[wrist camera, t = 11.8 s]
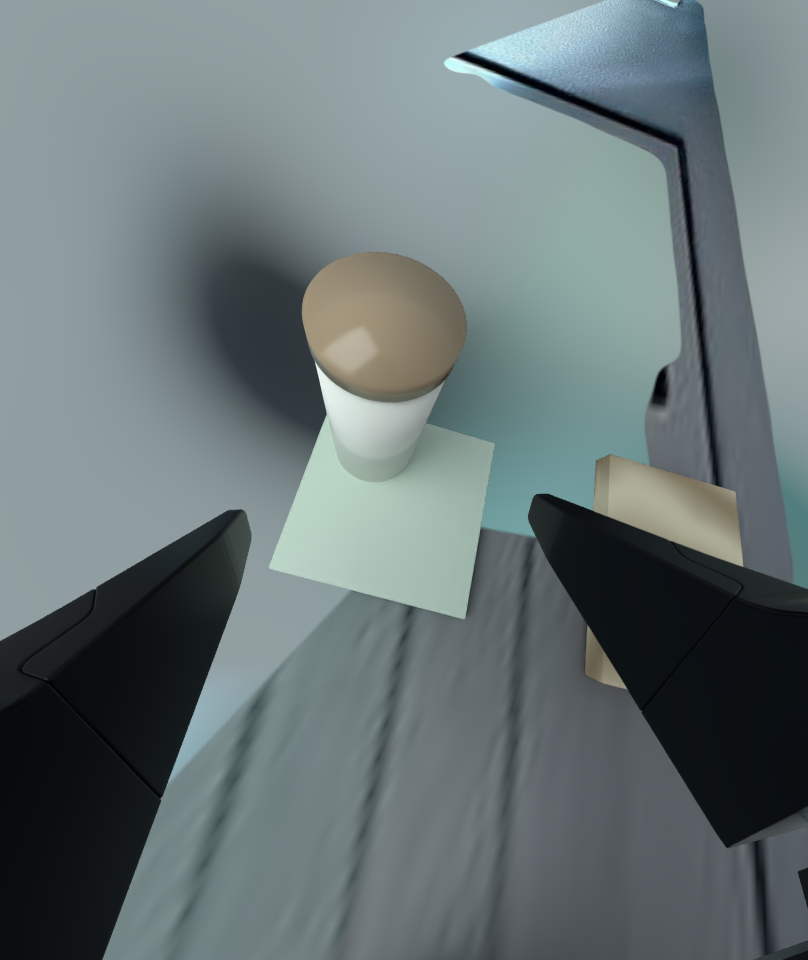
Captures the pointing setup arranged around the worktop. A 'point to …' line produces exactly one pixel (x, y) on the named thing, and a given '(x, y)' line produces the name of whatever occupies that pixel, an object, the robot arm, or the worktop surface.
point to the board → (662, 523)
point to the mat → (392, 523)
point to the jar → (381, 354)
